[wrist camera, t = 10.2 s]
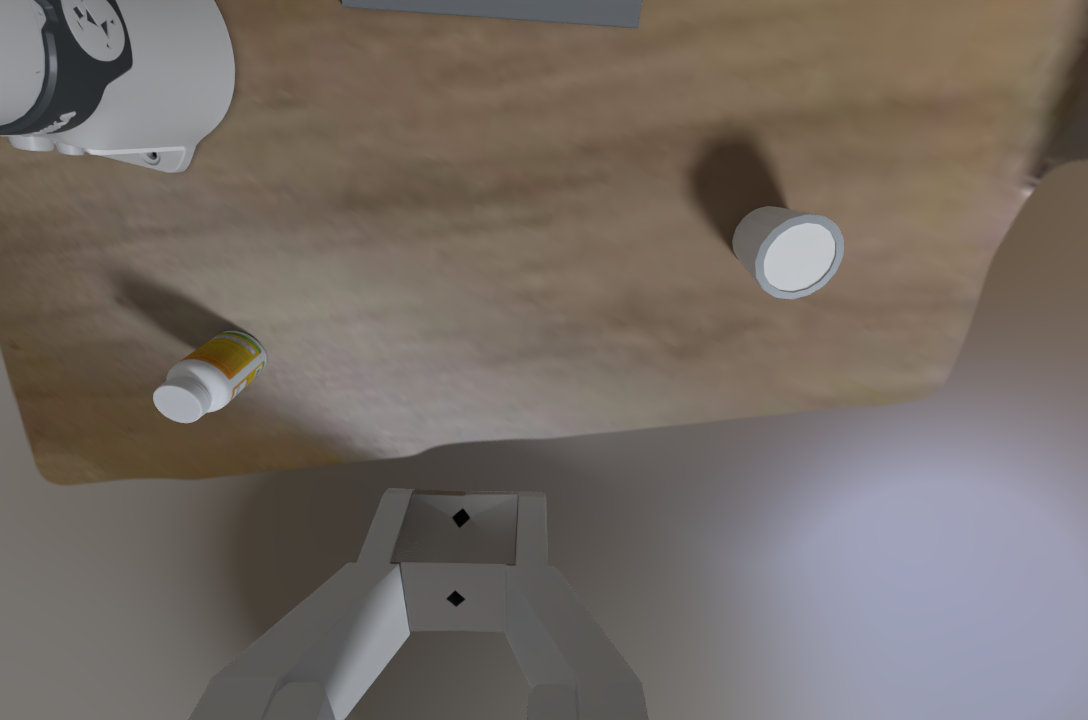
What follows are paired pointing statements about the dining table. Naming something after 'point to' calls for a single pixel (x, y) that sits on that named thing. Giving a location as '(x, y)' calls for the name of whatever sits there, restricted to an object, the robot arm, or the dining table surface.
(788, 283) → the grey white cylinder
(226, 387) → the supplement bottle
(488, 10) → the slate mat
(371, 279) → the dining table surface
